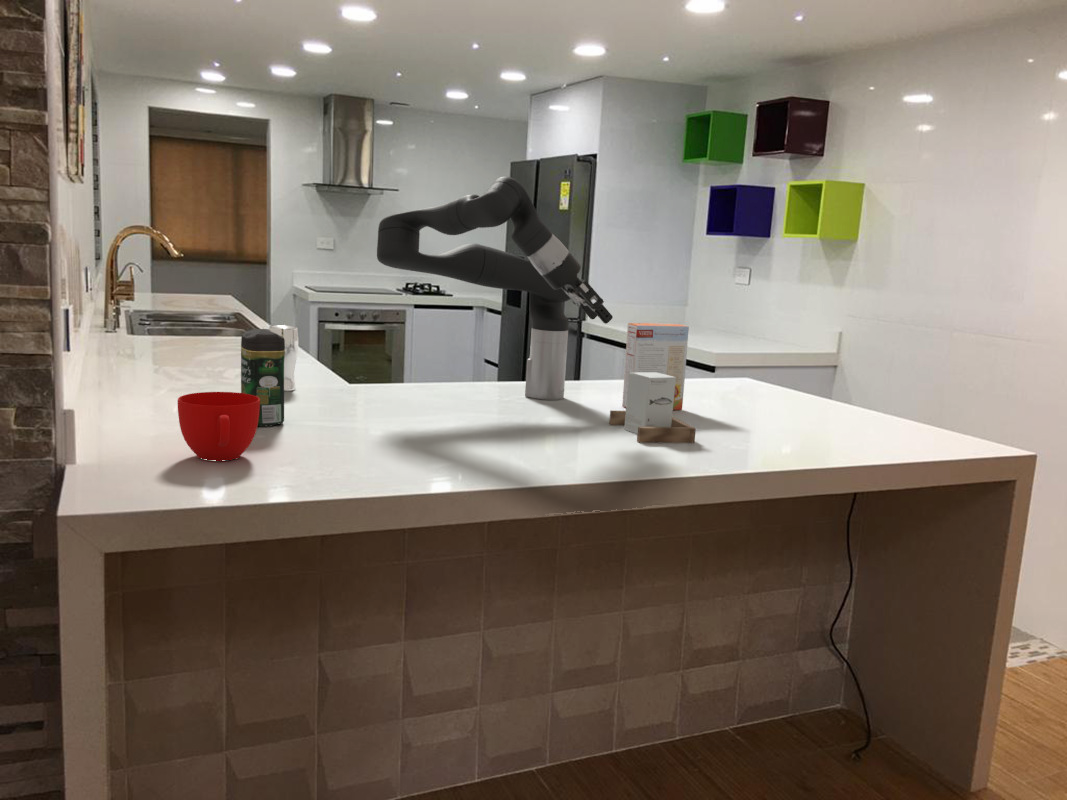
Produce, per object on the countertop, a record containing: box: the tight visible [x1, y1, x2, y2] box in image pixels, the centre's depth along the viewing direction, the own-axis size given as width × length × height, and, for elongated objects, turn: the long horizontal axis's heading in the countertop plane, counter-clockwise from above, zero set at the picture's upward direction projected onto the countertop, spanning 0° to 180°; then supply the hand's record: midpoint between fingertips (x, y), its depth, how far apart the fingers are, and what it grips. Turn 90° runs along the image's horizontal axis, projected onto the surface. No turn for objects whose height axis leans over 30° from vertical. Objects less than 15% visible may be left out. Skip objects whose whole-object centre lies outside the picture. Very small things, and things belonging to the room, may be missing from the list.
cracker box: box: [621, 322, 690, 411], centre depth 223 cm, size 14×6×21 cm, turn 109°
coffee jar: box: [240, 328, 285, 428], centre depth 180 cm, size 10×8×19 cm
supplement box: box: [623, 372, 676, 435], centre depth 195 cm, size 7×7×13 cm
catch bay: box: [608, 410, 697, 444], centre depth 195 cm, size 12×18×3 cm
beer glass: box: [268, 325, 299, 392], centre depth 218 cm, size 7×7×15 cm
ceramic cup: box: [177, 391, 260, 462], centre depth 151 cm, size 13×17×10 cm
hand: (602, 318), depth 194 cm, fingers open, 8 cm apart
